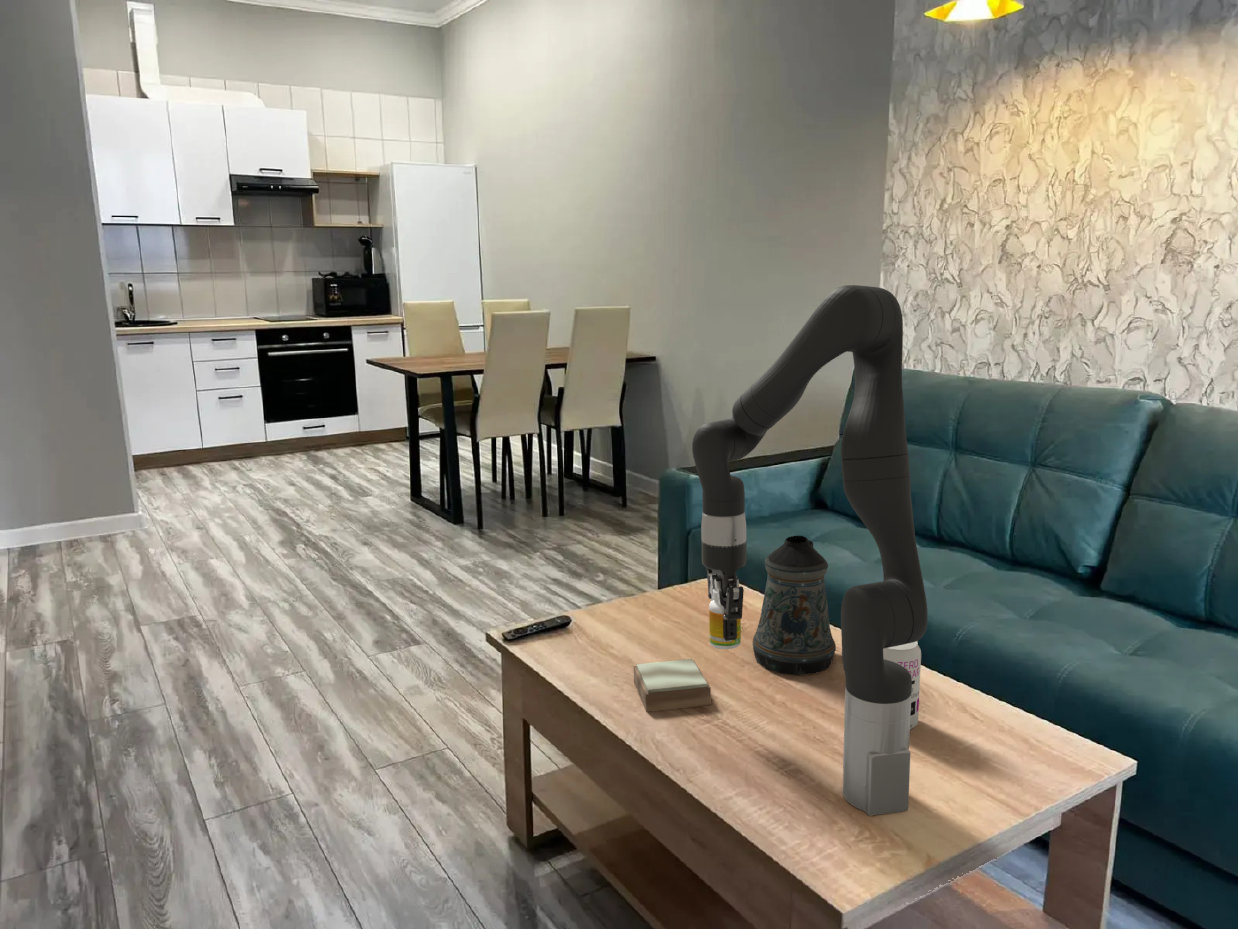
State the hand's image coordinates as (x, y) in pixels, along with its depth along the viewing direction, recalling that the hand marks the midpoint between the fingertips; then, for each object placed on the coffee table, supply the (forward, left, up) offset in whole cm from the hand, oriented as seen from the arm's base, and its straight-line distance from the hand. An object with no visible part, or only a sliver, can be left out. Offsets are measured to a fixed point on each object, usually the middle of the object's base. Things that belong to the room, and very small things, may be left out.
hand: (724, 632), depth 151 cm
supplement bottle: (0, 0, -2) cm, 2 cm away
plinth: (+12, +7, -17) cm, 22 cm away
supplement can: (-7, -28, -17) cm, 33 cm away
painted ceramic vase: (+23, -21, -17) cm, 36 cm away
